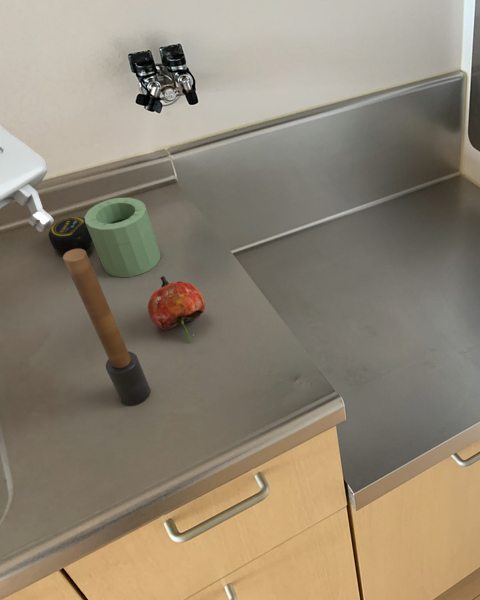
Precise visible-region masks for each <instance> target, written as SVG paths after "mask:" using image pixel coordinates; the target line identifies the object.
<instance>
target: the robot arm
mask: <svg viewBox="0 0 480 600" xmlns="http://www.w3.org/2000/svg"><path fill="white" fill-rule="evenodd" d="M47 173H48V166H47V162H46V160H45V159H44V157H42V155H40V154H39V153H37V152H36V151H35V150H33V149H32V148H31V147H30V146H28V145H27V144H26V143H24V142H23V141H22V140H20V139H19V138H18V137H17V136H15V135H13V134H12V133H11V132H9V131H8V130H7V129H6V128H5V127H3V125H2V124H0V210H1V209H2V208H4V207H5V206H7V205H9V204H10V203H12V202H14V201H16V202H17V203H18V204H19V205H21V206H22V207H24V206H26V205H27V208H28V210H29V212H30V214H31V215H30V218H29V220H28V224H29V225H30V226H31V227H33V228H35V230H36V231H38V232H39V233H43V232H44V231H46V230H47V229H48V228H49V229H50V228H51V227H52V225H53V224H54V222H55V220H54V218H53V217H52V215H50V214H49V213H48V212H47V211H46V210H45V209H43V204H42V202H41V199H40V196H39V193H38V191H37V190H36V189H35V187H37V186H38V185H40V184H41V183H42V182H43V180H44V178H45V177H46V175H47Z"/></svg>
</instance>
